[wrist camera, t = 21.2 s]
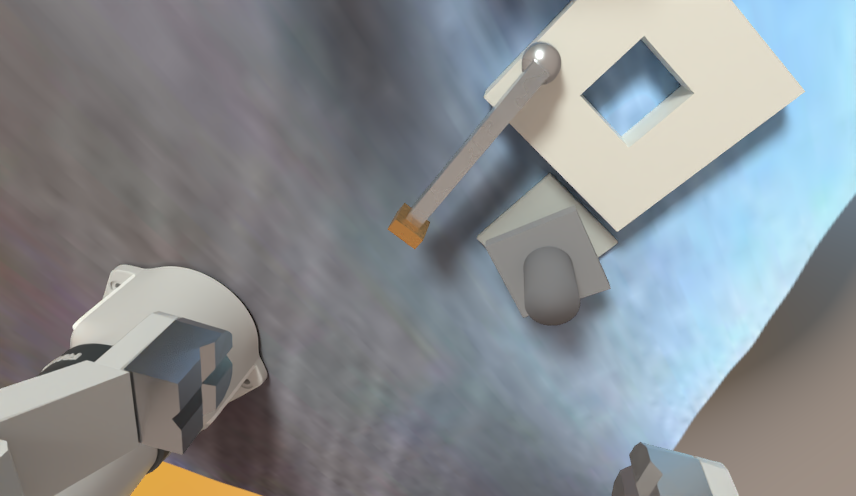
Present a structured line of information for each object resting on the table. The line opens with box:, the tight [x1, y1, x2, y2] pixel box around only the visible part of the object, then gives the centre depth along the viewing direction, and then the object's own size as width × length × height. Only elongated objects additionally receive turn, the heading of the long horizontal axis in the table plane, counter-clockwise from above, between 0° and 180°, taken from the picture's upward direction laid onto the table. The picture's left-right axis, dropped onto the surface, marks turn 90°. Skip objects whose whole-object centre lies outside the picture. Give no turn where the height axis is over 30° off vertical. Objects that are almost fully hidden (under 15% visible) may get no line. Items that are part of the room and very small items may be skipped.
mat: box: [477, 173, 618, 257], centre depth 41 cm, size 8×8×1 cm
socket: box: [484, 0, 805, 232], centre depth 34 cm, size 14×14×3 cm
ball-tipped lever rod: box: [388, 41, 561, 249], centre depth 33 cm, size 16×2×4 cm, turn 143°
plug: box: [485, 205, 611, 325], centre depth 37 cm, size 7×7×9 cm
